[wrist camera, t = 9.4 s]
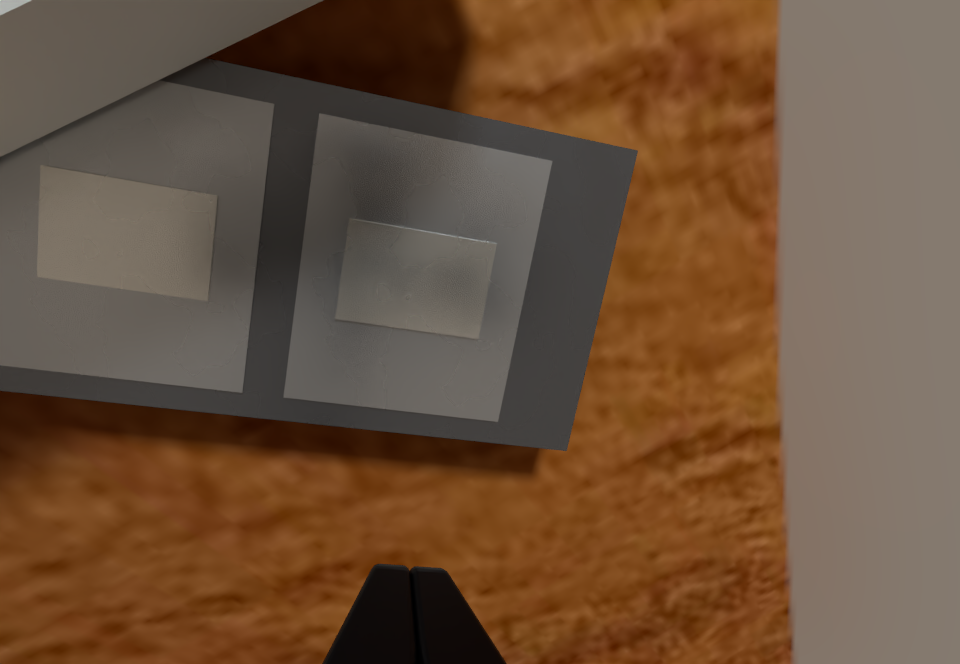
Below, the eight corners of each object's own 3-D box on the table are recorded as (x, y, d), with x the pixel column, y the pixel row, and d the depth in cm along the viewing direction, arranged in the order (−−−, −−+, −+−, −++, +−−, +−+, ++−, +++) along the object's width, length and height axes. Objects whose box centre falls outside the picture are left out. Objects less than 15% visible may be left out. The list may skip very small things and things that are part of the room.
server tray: (546, 421, 25) (568, 453, 22) (-255, 329, 19) (-350, 356, 17) (608, 150, 22) (640, 150, 20) (-283, -39, 17) (-397, -73, 14)
